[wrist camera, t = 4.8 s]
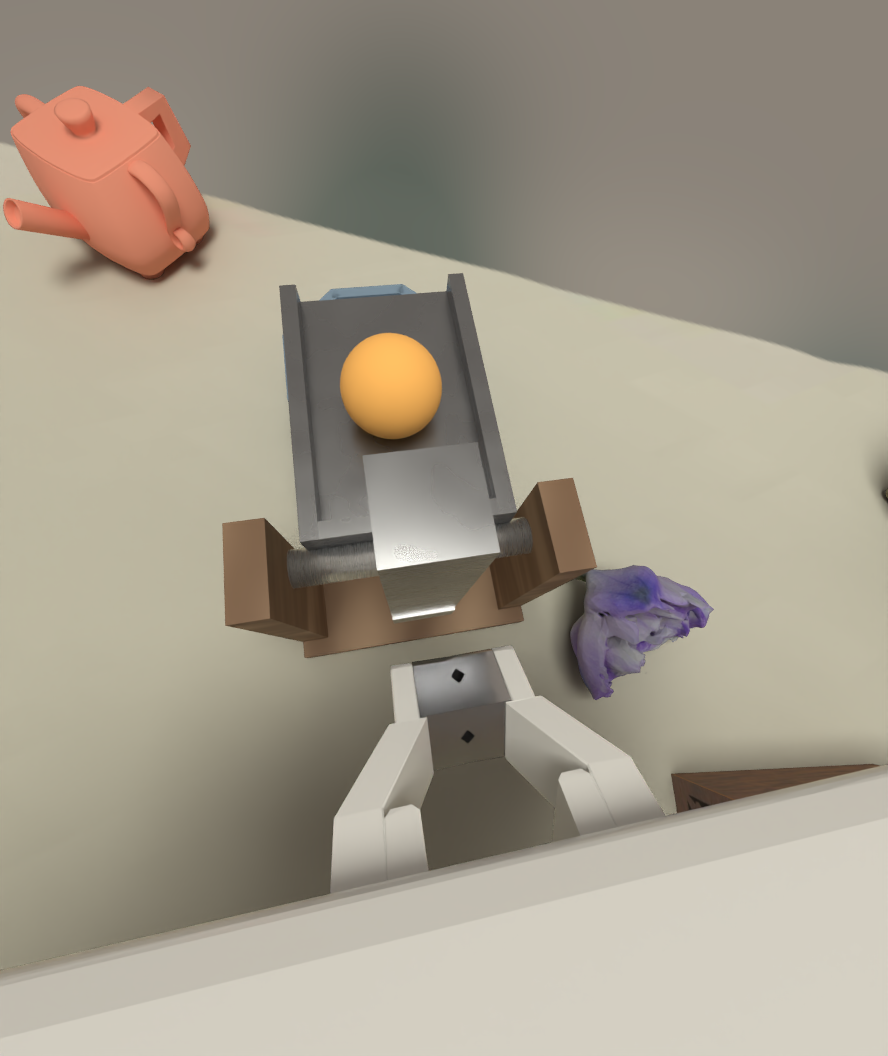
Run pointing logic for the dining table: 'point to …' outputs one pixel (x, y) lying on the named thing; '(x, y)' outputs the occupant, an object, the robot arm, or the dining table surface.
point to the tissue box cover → (746, 783)
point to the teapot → (110, 177)
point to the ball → (390, 386)
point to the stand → (361, 606)
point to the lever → (396, 458)
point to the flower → (629, 622)
